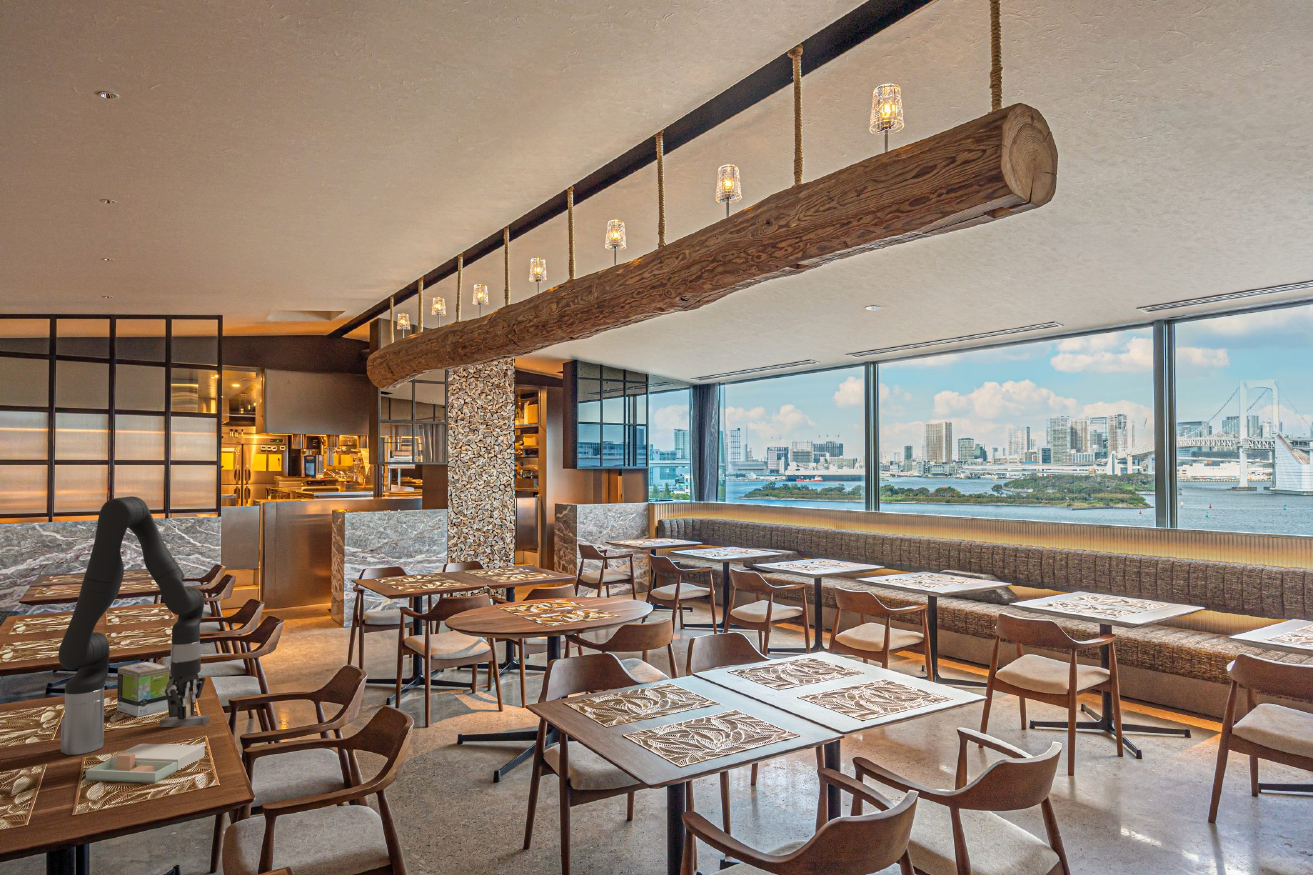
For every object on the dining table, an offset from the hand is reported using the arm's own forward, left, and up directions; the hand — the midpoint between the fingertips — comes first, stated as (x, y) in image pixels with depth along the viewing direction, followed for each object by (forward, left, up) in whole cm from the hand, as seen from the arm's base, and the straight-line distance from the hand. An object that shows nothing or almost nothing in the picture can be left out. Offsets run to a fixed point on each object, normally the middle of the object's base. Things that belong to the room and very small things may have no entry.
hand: (185, 716), depth 220 cm
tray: (+1, -20, -9) cm, 22 cm away
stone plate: (+1, -11, -9) cm, 14 cm away
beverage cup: (-17, +18, -9) cm, 26 cm away
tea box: (-41, +31, -9) cm, 52 cm away
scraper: (0, 0, -2) cm, 2 cm away
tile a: (-3, -17, -6) cm, 18 cm away
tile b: (+4, -21, -7) cm, 22 cm away
